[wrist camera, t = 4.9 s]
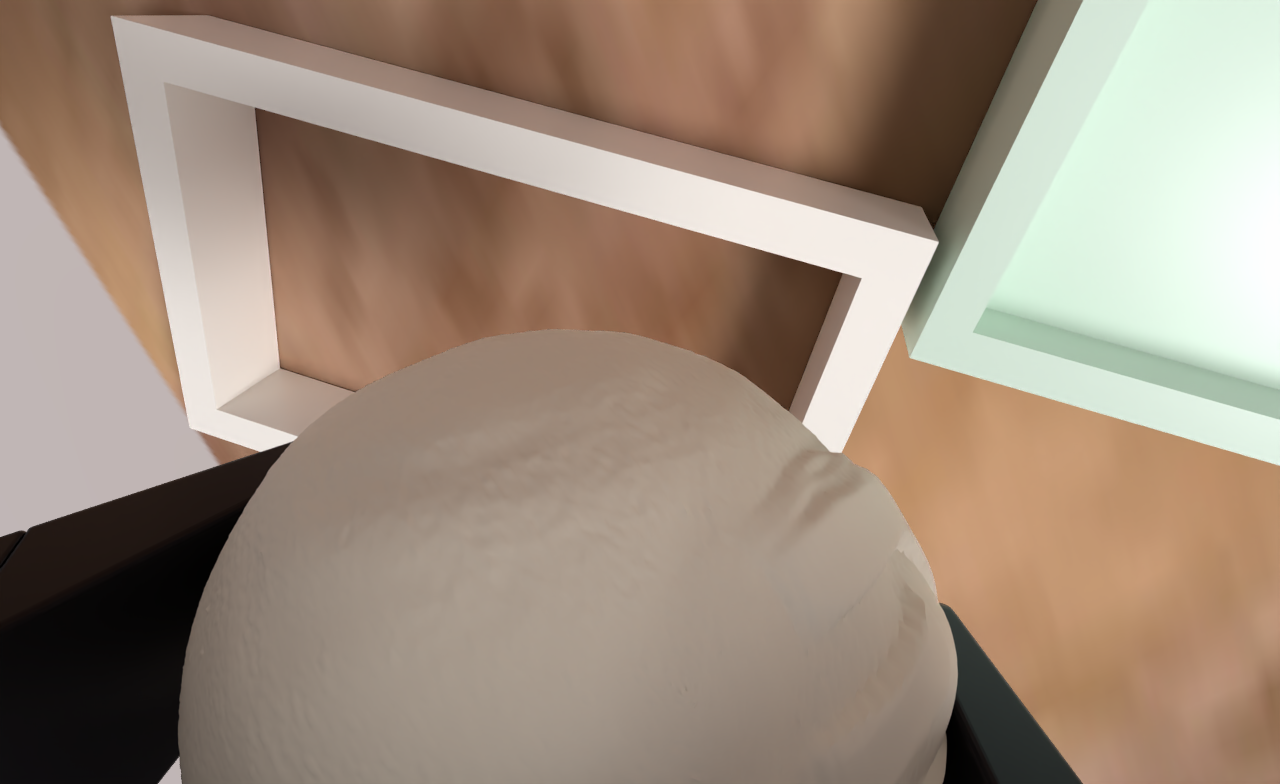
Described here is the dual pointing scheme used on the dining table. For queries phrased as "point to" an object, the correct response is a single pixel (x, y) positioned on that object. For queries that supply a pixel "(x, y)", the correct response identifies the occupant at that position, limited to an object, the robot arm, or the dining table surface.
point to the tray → (1123, 222)
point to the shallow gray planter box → (475, 138)
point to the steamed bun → (567, 588)
